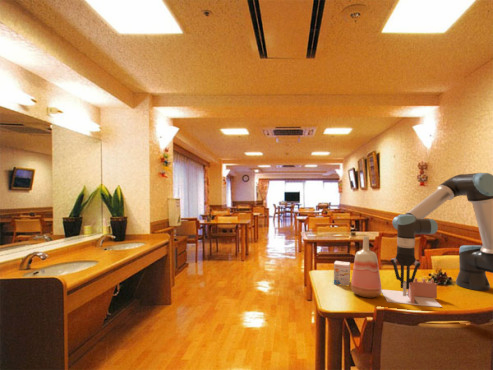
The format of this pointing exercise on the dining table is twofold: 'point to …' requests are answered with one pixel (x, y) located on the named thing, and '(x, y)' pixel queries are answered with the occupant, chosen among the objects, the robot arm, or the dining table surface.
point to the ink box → (342, 273)
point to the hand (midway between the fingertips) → (404, 295)
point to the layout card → (418, 300)
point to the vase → (366, 272)
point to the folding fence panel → (411, 292)
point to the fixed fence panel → (425, 288)
